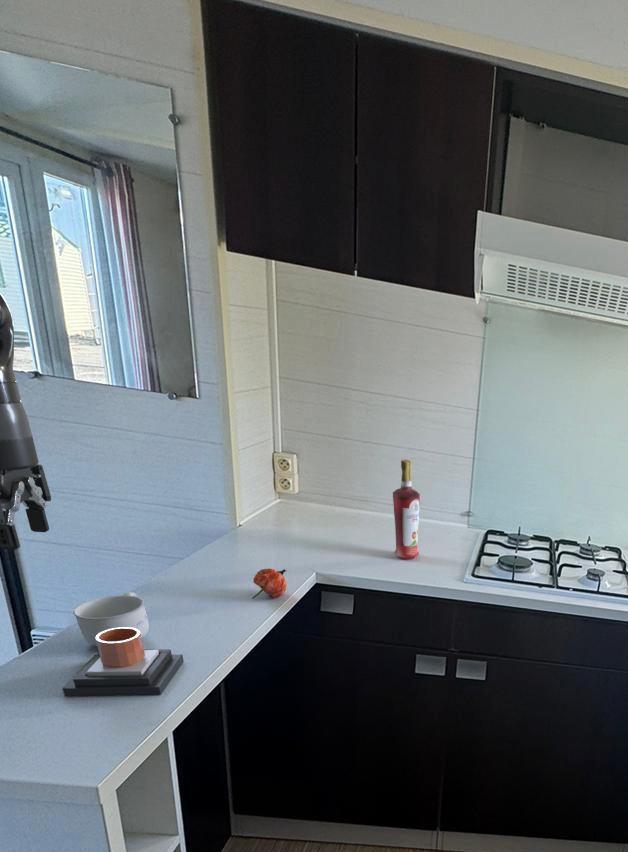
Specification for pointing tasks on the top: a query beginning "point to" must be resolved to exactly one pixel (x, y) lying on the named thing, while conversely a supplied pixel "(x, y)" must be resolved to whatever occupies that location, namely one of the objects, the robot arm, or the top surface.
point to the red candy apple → (271, 582)
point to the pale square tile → (136, 669)
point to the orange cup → (120, 647)
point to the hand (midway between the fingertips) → (26, 539)
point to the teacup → (111, 615)
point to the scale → (126, 679)
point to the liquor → (406, 515)
